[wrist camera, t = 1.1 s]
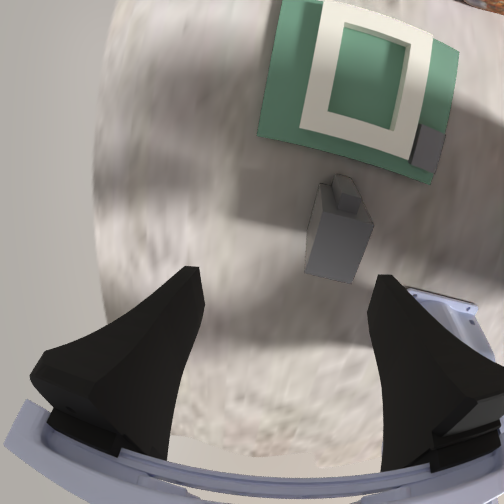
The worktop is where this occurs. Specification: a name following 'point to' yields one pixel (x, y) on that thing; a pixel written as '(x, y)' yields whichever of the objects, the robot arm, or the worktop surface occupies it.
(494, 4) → the tin
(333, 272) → the plug
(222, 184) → the worktop surface
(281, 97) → the board
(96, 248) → the worktop surface
